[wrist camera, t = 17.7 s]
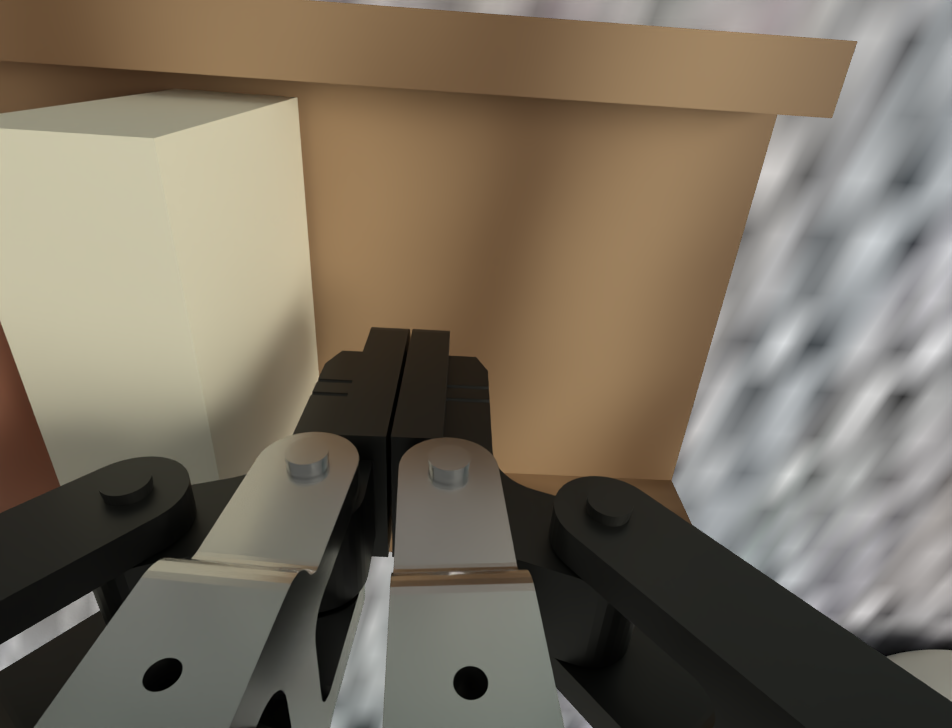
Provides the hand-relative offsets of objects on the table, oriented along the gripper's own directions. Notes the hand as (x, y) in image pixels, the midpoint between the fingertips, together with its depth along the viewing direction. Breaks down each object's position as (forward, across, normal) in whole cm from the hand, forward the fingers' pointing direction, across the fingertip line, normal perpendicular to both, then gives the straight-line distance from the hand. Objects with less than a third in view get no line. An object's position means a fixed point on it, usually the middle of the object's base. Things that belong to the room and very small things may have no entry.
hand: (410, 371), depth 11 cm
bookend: (+3, +4, 0) cm, 5 cm away
